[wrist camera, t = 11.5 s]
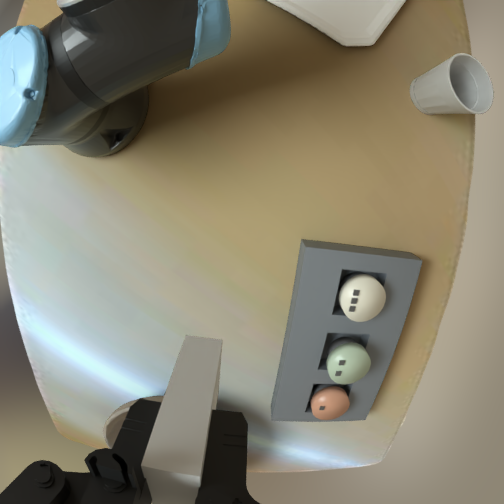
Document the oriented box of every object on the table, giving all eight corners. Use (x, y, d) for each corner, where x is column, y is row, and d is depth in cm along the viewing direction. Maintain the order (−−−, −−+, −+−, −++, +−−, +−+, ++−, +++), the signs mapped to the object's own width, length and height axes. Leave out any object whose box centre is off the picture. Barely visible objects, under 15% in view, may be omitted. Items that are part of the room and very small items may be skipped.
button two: (318, 365, 47) (324, 385, 42) (327, 331, 45) (334, 350, 40) (355, 366, 47) (363, 384, 42) (366, 333, 45) (376, 351, 40)
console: (270, 405, 54) (271, 420, 50) (301, 239, 44) (305, 246, 41) (360, 406, 54) (365, 419, 50) (410, 252, 45) (422, 260, 41)
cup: (454, 107, 38) (501, 99, 26) (423, 128, 39) (470, 124, 28) (428, 64, 36) (471, 45, 24) (395, 83, 37) (436, 65, 26)
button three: (330, 305, 46) (338, 321, 41) (339, 265, 44) (348, 277, 39) (368, 307, 46) (379, 323, 41) (378, 269, 44) (391, 281, 39)
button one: (305, 401, 52) (308, 421, 47) (312, 375, 50) (317, 394, 45) (338, 401, 52) (343, 420, 47) (347, 376, 50) (354, 394, 45)
